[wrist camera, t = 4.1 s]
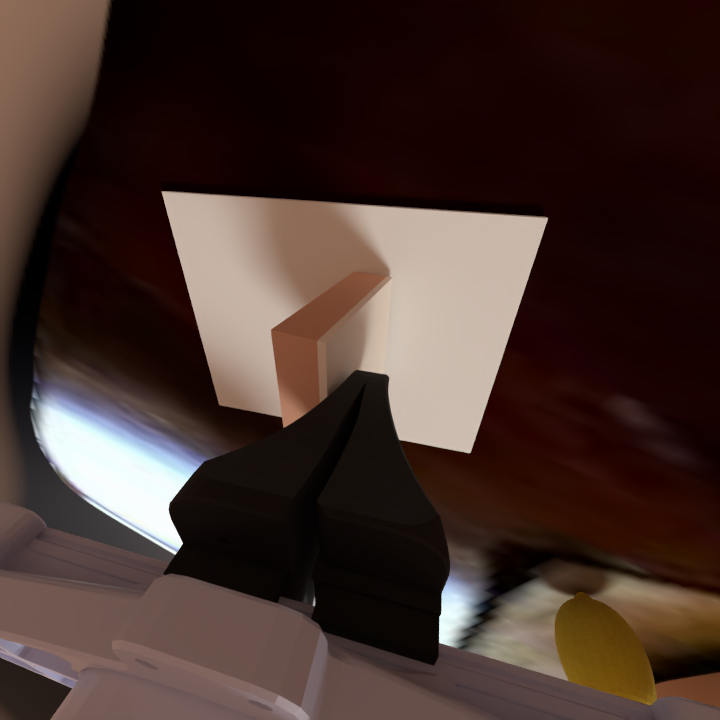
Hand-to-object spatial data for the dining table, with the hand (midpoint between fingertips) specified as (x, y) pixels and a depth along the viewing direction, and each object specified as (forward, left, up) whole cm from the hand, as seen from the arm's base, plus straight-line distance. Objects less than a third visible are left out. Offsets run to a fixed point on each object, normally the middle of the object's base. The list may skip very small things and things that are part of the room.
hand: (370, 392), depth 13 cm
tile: (0, +1, -5) cm, 5 cm away
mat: (-1, +3, -6) cm, 7 cm away
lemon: (-22, -18, -6) cm, 29 cm away
